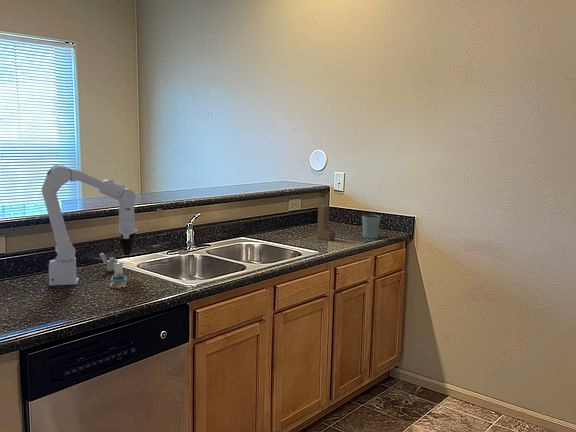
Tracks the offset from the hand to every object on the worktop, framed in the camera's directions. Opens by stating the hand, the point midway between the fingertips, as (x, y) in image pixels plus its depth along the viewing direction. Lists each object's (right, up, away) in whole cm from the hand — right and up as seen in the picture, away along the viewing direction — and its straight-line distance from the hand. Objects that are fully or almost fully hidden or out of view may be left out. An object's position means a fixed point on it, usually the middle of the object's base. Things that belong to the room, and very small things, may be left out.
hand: (127, 253), depth 219 cm
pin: (-1, -10, -10) cm, 14 cm away
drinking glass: (+109, +3, +94) cm, 144 cm away
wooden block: (+84, +2, +84) cm, 119 cm away
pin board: (-1, -11, -10) cm, 15 cm away
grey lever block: (-10, -8, +9) cm, 15 cm away
